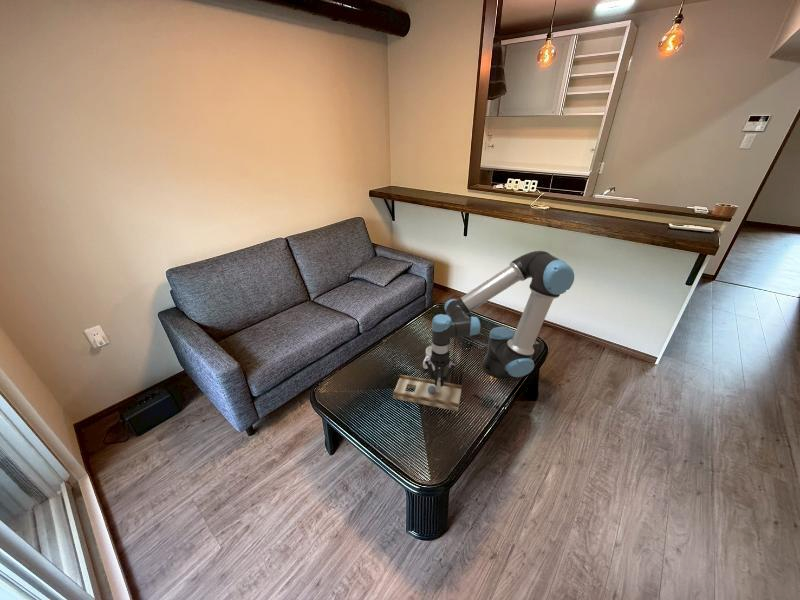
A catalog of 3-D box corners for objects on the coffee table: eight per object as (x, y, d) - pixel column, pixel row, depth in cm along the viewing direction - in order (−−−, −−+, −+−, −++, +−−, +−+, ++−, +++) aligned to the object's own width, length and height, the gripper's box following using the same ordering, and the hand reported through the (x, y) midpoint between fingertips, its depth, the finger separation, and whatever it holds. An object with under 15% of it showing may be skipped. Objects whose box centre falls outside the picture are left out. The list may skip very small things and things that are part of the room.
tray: (461, 391, 143) (461, 385, 141) (458, 411, 133) (458, 404, 131) (400, 380, 151) (399, 374, 149) (393, 398, 141) (392, 392, 139)
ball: (427, 383, 140) (429, 389, 142) (426, 389, 137) (428, 395, 139) (434, 383, 139) (436, 389, 141) (433, 388, 136) (435, 394, 138)
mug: (428, 377, 152) (429, 361, 147) (417, 369, 157) (417, 353, 152) (444, 366, 159) (445, 350, 154) (433, 358, 164) (433, 343, 159)
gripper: (457, 346, 128) (454, 387, 140) (427, 341, 132) (426, 382, 143) (455, 357, 122) (452, 399, 133) (423, 352, 125) (423, 393, 137)
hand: (438, 390), depth 138 cm, fingers closed
